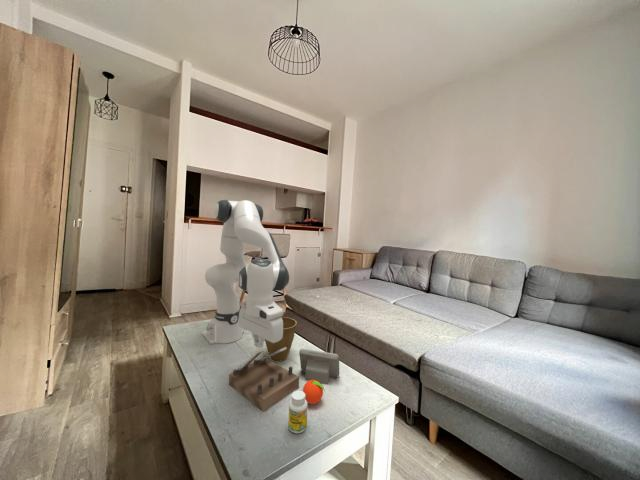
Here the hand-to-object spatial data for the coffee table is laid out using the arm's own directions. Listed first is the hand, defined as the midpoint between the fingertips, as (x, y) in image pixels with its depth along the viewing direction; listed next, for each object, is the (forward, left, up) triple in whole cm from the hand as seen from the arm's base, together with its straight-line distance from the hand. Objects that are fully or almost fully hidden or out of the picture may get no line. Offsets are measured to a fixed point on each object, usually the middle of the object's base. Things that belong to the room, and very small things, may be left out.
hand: (258, 346), depth 84 cm
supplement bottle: (+20, -1, -17) cm, 26 cm away
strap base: (-2, +4, -17) cm, 18 cm away
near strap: (-4, 0, -7) cm, 8 cm away
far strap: (-4, +9, -8) cm, 13 cm away
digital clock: (+9, +23, -17) cm, 30 cm away
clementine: (+17, +10, -17) cm, 26 cm away
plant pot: (-13, +21, -17) cm, 31 cm away
